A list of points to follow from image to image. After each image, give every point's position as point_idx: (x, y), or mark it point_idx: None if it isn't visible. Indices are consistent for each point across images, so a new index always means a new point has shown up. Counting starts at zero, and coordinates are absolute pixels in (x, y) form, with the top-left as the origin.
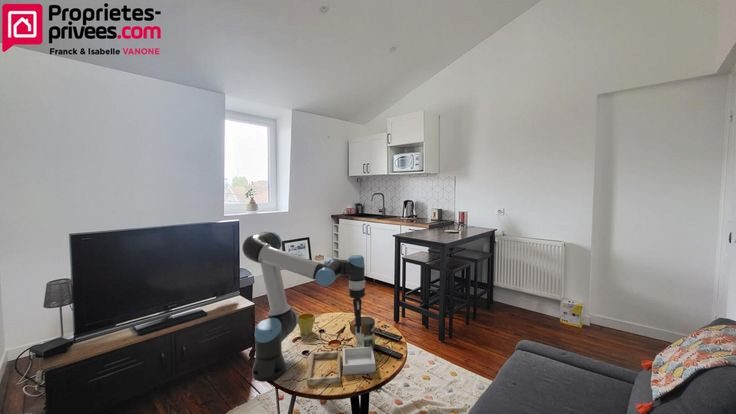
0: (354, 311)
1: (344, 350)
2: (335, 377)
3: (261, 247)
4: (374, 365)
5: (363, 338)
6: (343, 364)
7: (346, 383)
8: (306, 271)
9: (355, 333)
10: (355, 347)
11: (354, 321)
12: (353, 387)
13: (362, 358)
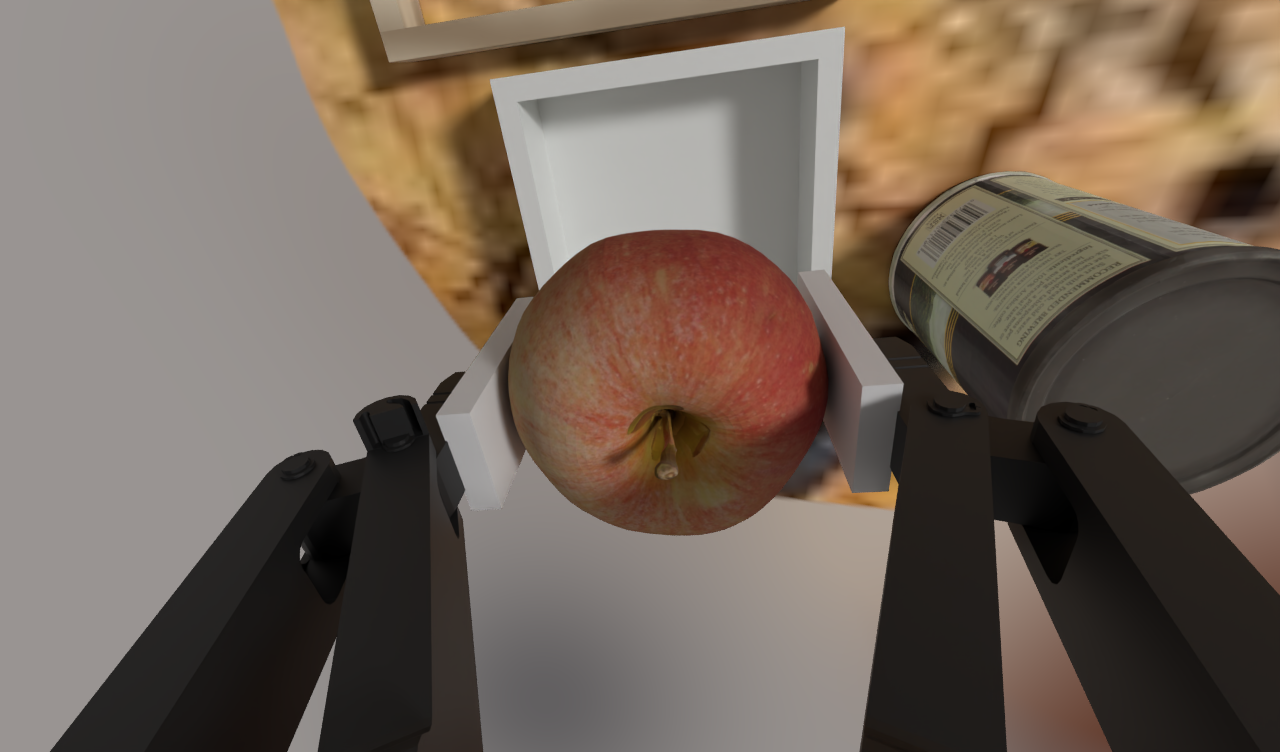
0: (1062, 456)
1: (788, 59)
2: (375, 8)
3: None
4: None
5: (946, 290)
6: (512, 82)
7: (417, 121)
8: None
9: (491, 336)
10: (835, 192)
11: (653, 390)
12: (386, 185)
13: None
